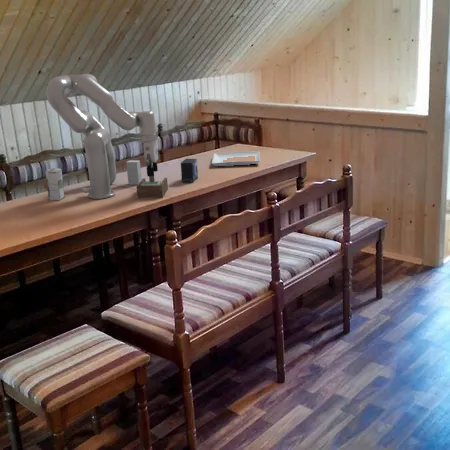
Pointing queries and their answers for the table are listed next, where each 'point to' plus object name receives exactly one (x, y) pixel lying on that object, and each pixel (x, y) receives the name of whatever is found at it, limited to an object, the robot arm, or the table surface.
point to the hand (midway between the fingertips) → (152, 173)
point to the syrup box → (55, 184)
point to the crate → (151, 182)
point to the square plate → (220, 157)
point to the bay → (152, 190)
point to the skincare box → (133, 172)
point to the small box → (189, 170)
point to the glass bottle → (111, 161)
